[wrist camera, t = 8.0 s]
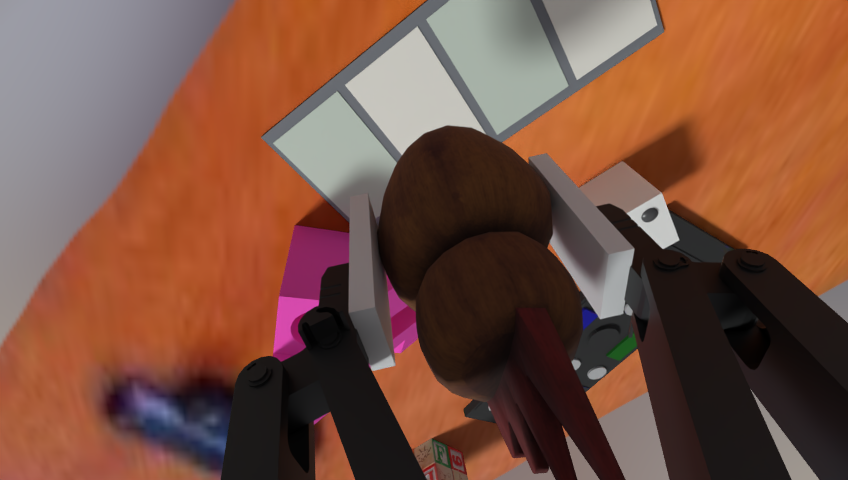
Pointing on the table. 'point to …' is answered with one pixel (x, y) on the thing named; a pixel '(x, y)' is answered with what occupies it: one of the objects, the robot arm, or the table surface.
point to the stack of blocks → (440, 461)
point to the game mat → (453, 83)
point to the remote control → (619, 319)
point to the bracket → (303, 284)
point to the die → (634, 201)
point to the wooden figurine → (492, 293)
